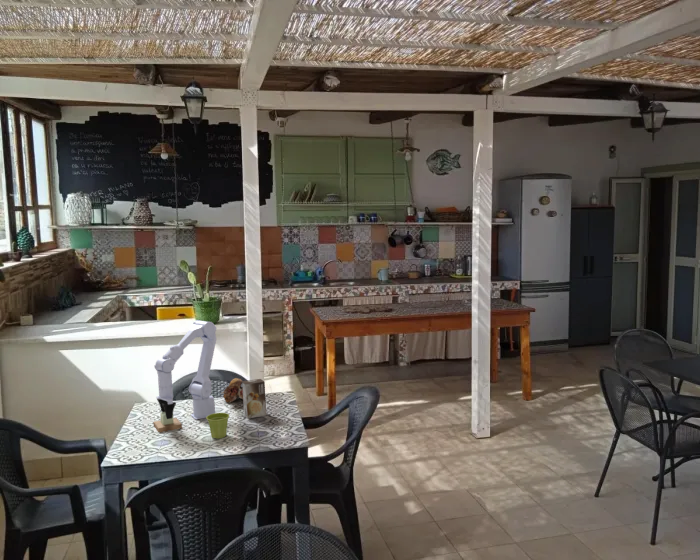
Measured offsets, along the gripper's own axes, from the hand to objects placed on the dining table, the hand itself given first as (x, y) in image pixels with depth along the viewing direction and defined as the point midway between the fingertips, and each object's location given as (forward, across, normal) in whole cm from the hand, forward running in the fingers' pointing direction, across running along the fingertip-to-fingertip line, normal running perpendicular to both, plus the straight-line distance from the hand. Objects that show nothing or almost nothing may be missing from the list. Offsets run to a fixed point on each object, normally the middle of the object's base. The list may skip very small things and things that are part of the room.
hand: (167, 416), depth 268 cm
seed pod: (+5, -20, +38) cm, 44 cm away
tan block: (+6, 0, 0) cm, 6 cm away
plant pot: (+5, +24, +15) cm, 29 cm away
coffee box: (+5, +7, +38) cm, 39 cm away
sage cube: (+3, 0, 0) cm, 3 cm away
